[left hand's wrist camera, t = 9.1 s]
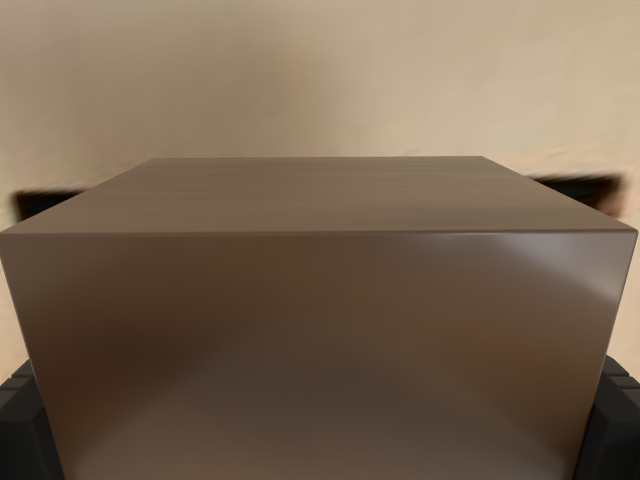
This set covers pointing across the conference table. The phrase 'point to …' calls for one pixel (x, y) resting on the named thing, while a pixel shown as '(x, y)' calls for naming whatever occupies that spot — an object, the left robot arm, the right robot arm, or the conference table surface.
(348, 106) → the conference table surface
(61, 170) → the conference table surface
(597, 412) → the left robot arm
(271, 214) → the thick board
